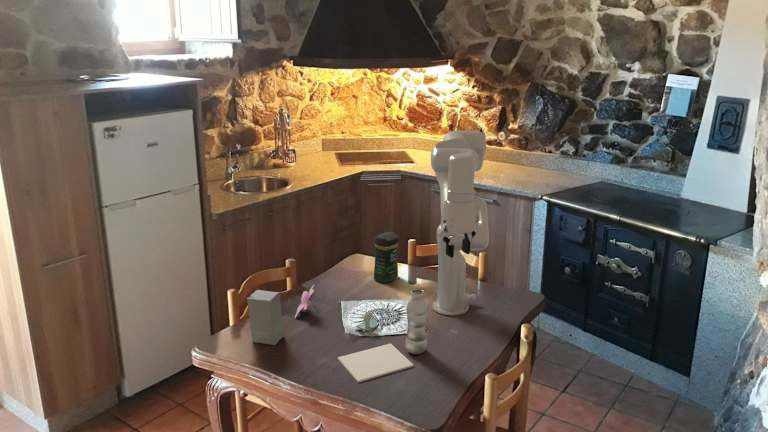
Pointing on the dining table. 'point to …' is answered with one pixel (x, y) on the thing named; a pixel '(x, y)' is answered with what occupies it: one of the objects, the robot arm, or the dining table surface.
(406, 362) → the mat
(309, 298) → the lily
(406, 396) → the dining table surface
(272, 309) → the skincare box
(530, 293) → the dining table surface
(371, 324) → the pacifier
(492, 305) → the dining table surface
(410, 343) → the plastic bottle
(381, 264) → the coffee jar
